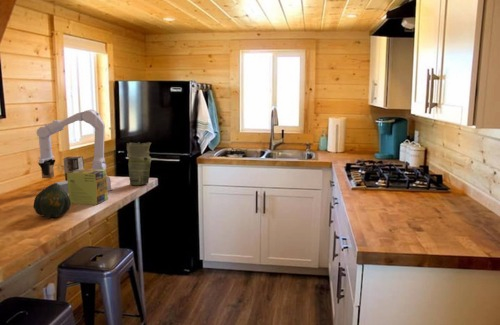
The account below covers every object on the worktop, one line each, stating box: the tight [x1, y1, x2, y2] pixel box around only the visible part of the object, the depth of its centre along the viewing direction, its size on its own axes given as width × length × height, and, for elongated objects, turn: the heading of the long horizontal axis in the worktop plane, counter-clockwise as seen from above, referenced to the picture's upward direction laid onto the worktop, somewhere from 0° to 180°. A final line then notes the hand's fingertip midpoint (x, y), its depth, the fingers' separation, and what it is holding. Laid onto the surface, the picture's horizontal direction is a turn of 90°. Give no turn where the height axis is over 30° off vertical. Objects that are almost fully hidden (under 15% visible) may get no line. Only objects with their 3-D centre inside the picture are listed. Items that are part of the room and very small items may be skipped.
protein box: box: [67, 168, 109, 206], centre depth 203 cm, size 10×15×16 cm
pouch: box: [126, 141, 152, 186], centre depth 239 cm, size 11×12×25 cm
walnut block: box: [40, 165, 55, 179], centre depth 221 cm, size 4×4×6 cm
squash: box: [33, 182, 72, 220], centre depth 181 cm, size 14×15×15 cm
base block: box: [55, 180, 68, 194], centre depth 222 cm, size 7×7×6 cm
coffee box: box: [62, 156, 85, 181], centre depth 239 cm, size 9×6×16 cm
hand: (48, 174), depth 221 cm, fingers closed on walnut block, 4 cm apart
